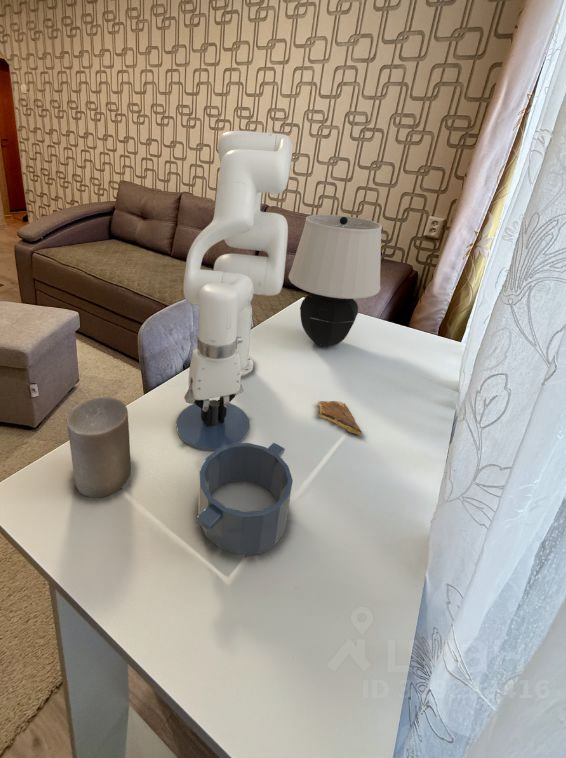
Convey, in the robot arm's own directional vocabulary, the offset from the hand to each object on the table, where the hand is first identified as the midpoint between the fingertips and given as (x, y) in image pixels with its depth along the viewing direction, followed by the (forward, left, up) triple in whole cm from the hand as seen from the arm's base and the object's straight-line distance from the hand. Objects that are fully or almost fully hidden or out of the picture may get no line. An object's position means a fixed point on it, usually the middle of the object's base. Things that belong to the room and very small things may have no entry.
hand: (213, 420), depth 84 cm
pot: (+18, -13, -2) cm, 22 cm away
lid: (0, 0, -1) cm, 1 cm away
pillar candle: (-6, -23, -2) cm, 24 cm away
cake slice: (+20, +22, -2) cm, 30 cm away
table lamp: (0, +53, -2) cm, 53 cm away
